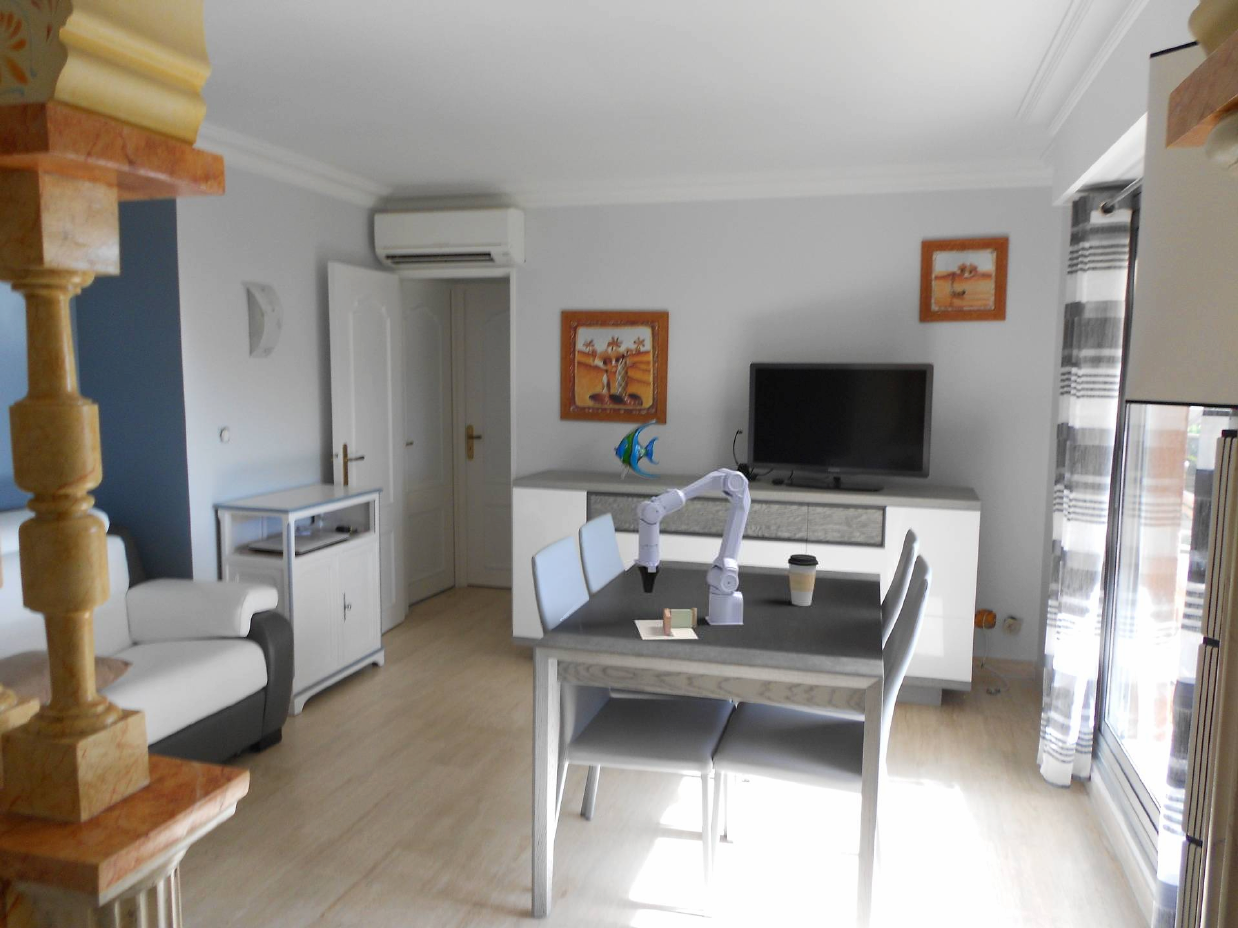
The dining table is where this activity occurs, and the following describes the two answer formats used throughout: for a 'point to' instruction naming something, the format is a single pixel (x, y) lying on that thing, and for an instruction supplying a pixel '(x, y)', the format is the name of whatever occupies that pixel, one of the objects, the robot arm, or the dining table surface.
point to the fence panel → (667, 621)
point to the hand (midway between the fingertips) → (648, 592)
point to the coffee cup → (802, 578)
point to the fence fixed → (683, 618)
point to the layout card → (662, 631)
